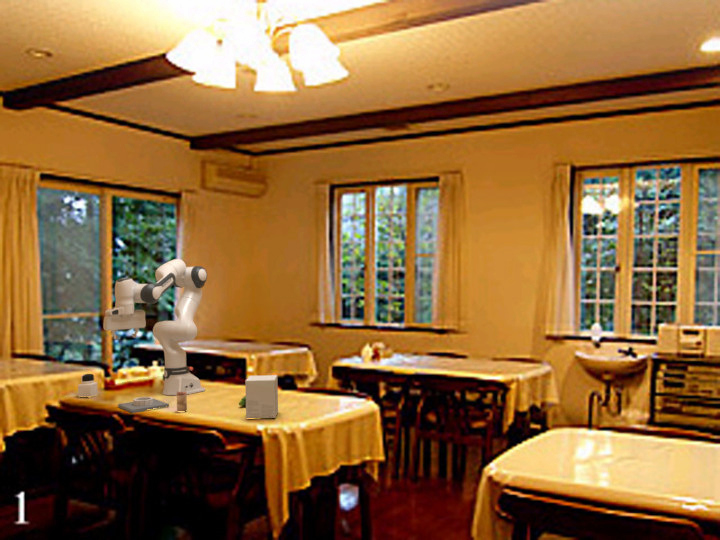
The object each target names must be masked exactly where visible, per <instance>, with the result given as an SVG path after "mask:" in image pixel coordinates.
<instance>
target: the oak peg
mask: <svg viewBox="0 0 720 540" xmlns="http://www.w3.org/2000/svg"><path fill="white" fill-rule="evenodd" d="M187 397H188V394H187V392H177V395H176V410H177V411H186V410H187V411H188V404H187V403H188V399H187ZM177 411H176V412H177Z"/></svg>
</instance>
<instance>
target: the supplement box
mask: <svg viewBox="0 0 720 540" xmlns="http://www.w3.org/2000/svg"><path fill="white" fill-rule="evenodd" d="M278 381H279V380H278V374H273V375H249V376H248V377H247V378H246V379H245V381H244V382H245V383H244V385H245V396H246V407H245V419H246V418H275V417H276V418H277V416H278V414H277V413H279V395H278V393H279V391H278V386H279V385H278ZM276 415H277V416H276ZM276 418H275V419H276Z"/></svg>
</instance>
